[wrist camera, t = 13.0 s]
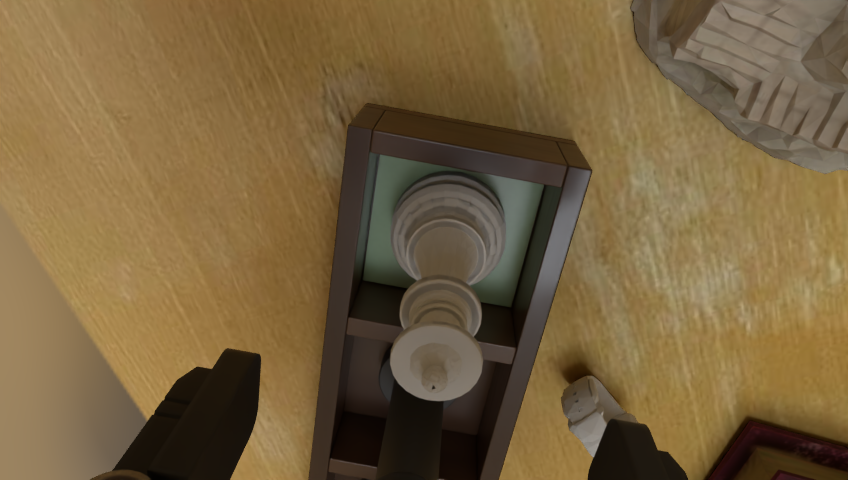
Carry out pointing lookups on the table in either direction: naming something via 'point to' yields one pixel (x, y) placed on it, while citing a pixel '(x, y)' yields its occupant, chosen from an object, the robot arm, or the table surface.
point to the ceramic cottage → (760, 69)
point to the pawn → (409, 432)
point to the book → (781, 457)
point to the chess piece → (443, 280)
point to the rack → (387, 281)
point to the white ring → (591, 411)
